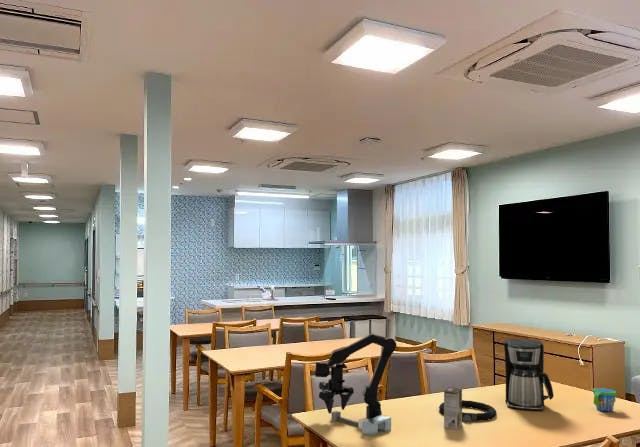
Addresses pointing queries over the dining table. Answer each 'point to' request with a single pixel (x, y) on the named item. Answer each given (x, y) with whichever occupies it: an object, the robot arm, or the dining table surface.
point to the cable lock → (475, 416)
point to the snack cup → (604, 399)
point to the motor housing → (376, 425)
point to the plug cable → (337, 417)
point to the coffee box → (452, 408)
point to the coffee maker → (526, 374)
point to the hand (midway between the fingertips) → (336, 411)
